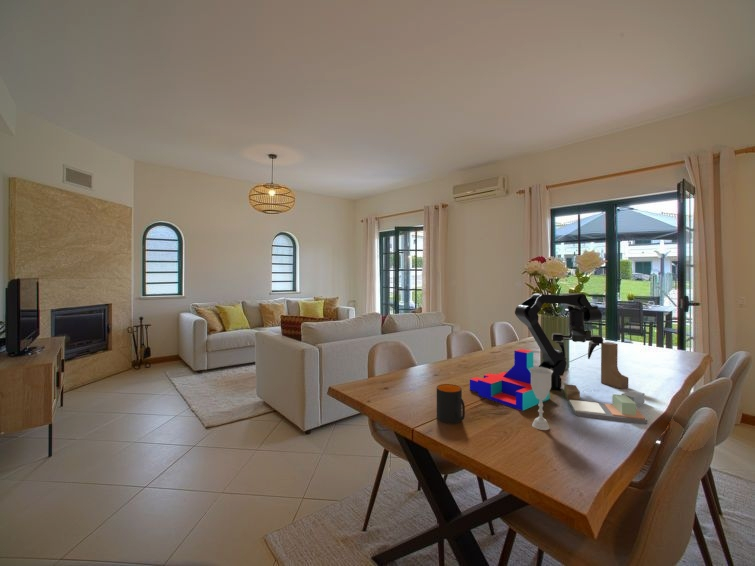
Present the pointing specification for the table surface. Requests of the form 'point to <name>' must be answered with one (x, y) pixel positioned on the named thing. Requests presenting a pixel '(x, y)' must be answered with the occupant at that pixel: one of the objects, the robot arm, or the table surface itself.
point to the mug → (450, 404)
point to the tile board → (604, 412)
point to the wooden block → (611, 367)
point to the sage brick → (624, 404)
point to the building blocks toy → (510, 383)
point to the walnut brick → (571, 392)
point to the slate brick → (635, 397)
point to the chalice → (540, 392)
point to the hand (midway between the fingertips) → (576, 357)
